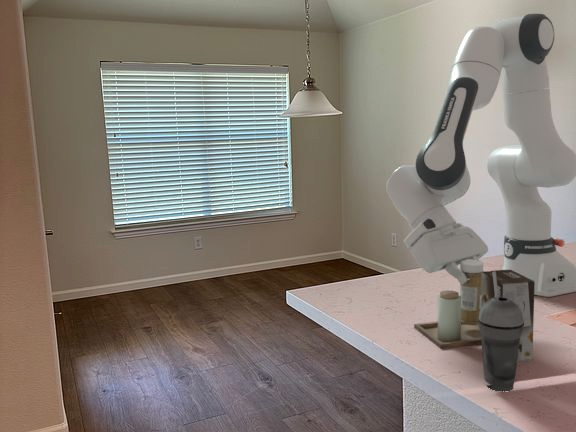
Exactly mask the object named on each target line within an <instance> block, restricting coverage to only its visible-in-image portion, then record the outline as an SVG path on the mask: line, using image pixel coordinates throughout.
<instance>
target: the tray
mask: <svg viewBox="0 0 576 432" xmlns="http://www.w3.org/2000/svg"><path fill="white" fill-rule="evenodd" d="M413 328H414V329H415V330H416V331H417V332H419V333H420V334H421V335H423V336H424V337H425V338H426V339H428V340H429V341H430V342H431V343H433V344H434V345H435V346H437V347H438V348H439V349H440V350H443V349H450V348H458V347H465V346H466V347H467V346H474V345H481V332H480V329H479V324H478V325H466V324H463V323H461V341H453V342H441V341H439V340H438V320H437V321H431V322H422V323H414V324H413Z"/></svg>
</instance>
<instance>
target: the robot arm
mask: <svg viewBox="0 0 576 432" xmlns="http://www.w3.org/2000/svg"><path fill="white" fill-rule="evenodd" d="M554 42H555V29H554V25H553V22H552V21H551V19H549V17H548V16H547V15H545V14H543V13H528V14H526V15H522V16H514V17H509V18H504V19H501V20H500V21H495V22H493V23H490V24H487V25H485V26H484V25H483V26H482V25H481V26H477V27H474V28H472V29H470V30H469V31H468V32H467V33H466V34H465V35H464V36H463V38H462V40H461V42H460V44H459V46H458V49H457V50H456V53H455V56H454V59H453V62H452V65H451V68H450V72H449V76H448V81H447V85H446V93H445V97H444V100H443V103H442V105H441V108H440V112H439V114H438V118H437V121H436V123H435V127H434V129H433V132H432V133H431V136H430V137H429V139H428V140H427V141H426V142H425V144H424V145H423V146H422V147H421V149H420V150H419V152H418V154H417V156H416V160H415V165H406V164H403V165H401V166H399V167H397V168H396V169H395V170H394V171H392V172H391V174H390V175H389V177H388V179H387V181H386V184H385V189H386V193H387V196H388V198H389V200H390V201H391V203H392V205H393V207H394V208H395V210H396V211H397V212H398V214H399V215H400V216H402V217H403V218H404V219H405V220H406V222H407V224H408V226H409V229H410V230H411V232H409V234H408V235H407V236H406V237H405V238H404V240H403V244H404V245H405V246H406V248H407V249H410V253H411V254H412V256H413V257H414V259H415V260H416V262H417V264H419V266H420V268H421V269H422V270H423V271H425V272H426V273H427V274H432V273H436V272H440V271H443V270H445V271H446V272H447V274H449V275H450V276H452V277H453V278H455V279H456V280H457V281H458V283H459V285H460V284H465V283H467V282H468V281H469V280H470V277H469V276H468V275H467V273H466V272H465V273H463V272H462V271H461V270H460V267H459V266H458V265H460V264H461V261H462V260H467V259H473V260H479V261H480V258H483V256H484V255H485V254H487V253H488V251H489V247H488V245H487V244H486V242H485V241H484V240H483V239H482V238H481V237H480V236H479V234H477V233H476V232H475V231H474V230H473V229H472V228H471V227H469V226H467V225H464V224H462V223H457V221H456V219H454V218H453V216H452V215H451V214H450V212H449V211H448V210H447V208H446V205H448V204H450V203H453V202H455V201H456V200H458V199H460V198H461V197H463V196H464V195H465V194H466V193H467V192H468V190H469V189H470V185H471V175H470V172H469V168H468V166H467V161H466V156H465V151H464V145H463V144H464V143H463V142H464V139H465V136H466V133H467V129H468V127H469V122H470V119H471V117H472V114H473V111H476V110H480V109H483V108H484V107H487V106H488V105H489V104H490V103H491V102H492V99H493V98H494V96H495V92H496V90H497V88H498V86H499V81H500V77H501V75H502V97H503V98H502V100H503V117H504V124H505V125H506V127H507V128H508V129H510V130H511V131H512V132H513V133H514V134H515V135H516V137H517V139H518V141H519V143H520V144H509V145H508V144H507V145H504V146H500V147H498V148H495V149H494V150H493V151H492V152H491V153H490V155H489V156H488V159H487V162H486V163H487V164H486V167H487V168H486V169H487V173H488V174H489V176H490V177H491V178H492V179H493V181H495V183H496V185H497V186H498V188H499V190H500V193H501V195H502V199H503V201H504V202H503V203H504V206H505V226H506V227H505V235H504V238H503V239H504V240H503V254H504V260H503V266H502V270H512V271H514V272H517V273H519V274H521V275H523V276H525V277H527V278H529V279H531V280H533V281H535V286H534V296H539V297H547V298H549V297H550V298H552V297H555V296H561V295H565V294H570V293H575V292H576V265H575V264H574V262H572V261H571V260H569V259H568V258H567V257H565V256H564V255H563V254H561V253H560V252H559V251H557V248H556V247H561V248H562V247H564V245H565V243H566V242H565V240H564V239H561V238H557V237H556V238H553V237H551V236H552V235H551V234H552V208H551V207H550V206H549V204H548V203H547V202H546V201H545V200H543V198H542V197H541V195H540V193H539V189H538V188H559V187H563V186H567V185H569V184H570V183H572V182H573V181H574V180H575V178H576V152H575V151H574V150H573V149H572V148H570V147H569V146H567V144H566V143H565V142H564V141H563V140H562V138H561V136H560V135H559V133H558V130H557V129H556V126H555V123H554V120H553V115H552V106H551V104H552V103H551V91H550V90H551V89H550V77H549V70H548V65H547V61H546V58H547V56H548V55H549V53H550V52H551V50H552V49H553V46H554ZM502 68H503V69H502ZM502 70H503V72H502ZM483 272H485V271H484V270H483Z"/></svg>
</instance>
